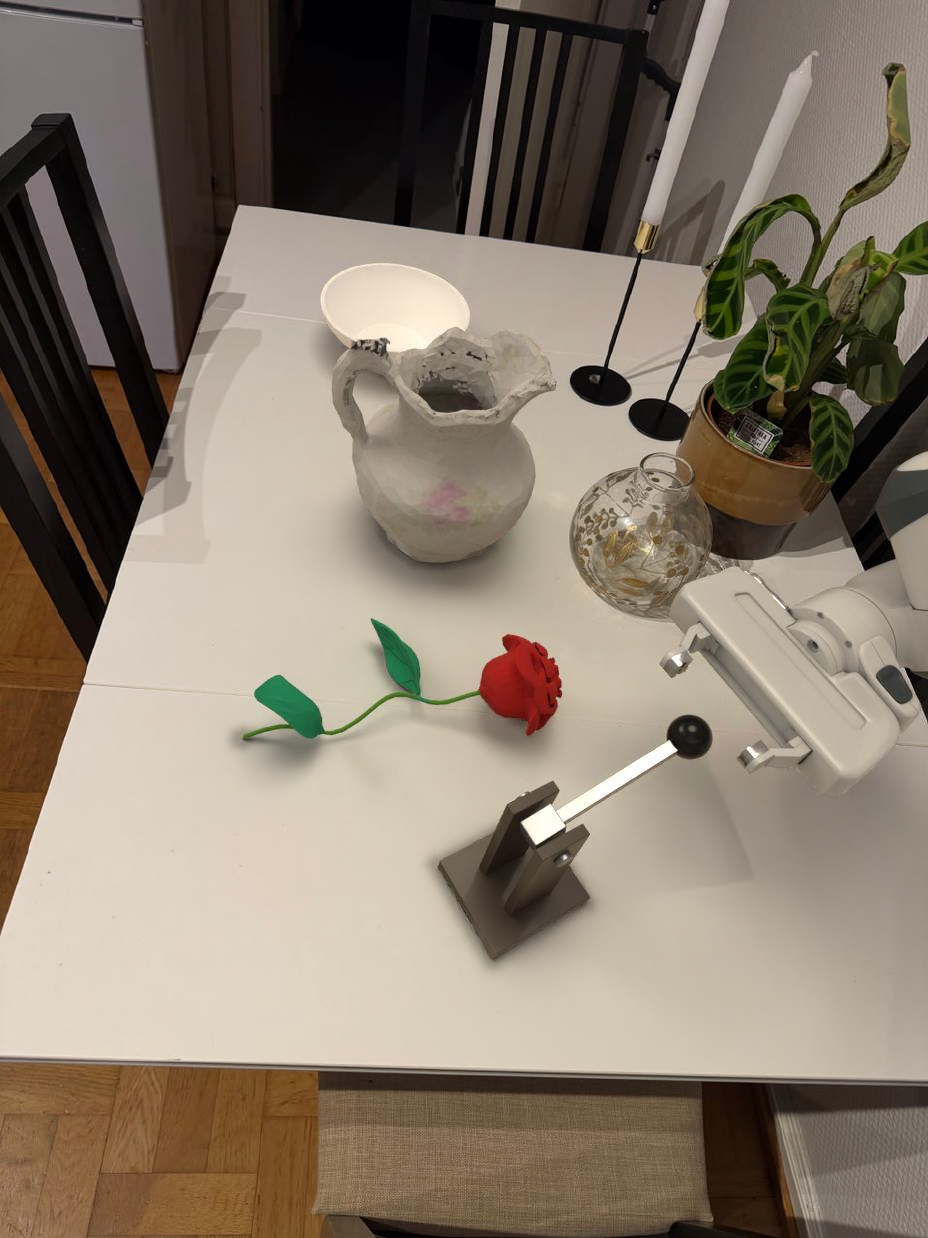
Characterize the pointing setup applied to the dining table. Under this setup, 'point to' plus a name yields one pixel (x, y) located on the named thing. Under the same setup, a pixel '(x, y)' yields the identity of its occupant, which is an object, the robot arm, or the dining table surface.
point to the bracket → (516, 876)
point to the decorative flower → (507, 686)
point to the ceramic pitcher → (445, 439)
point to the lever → (620, 779)
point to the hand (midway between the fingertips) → (704, 713)
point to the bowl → (392, 306)
